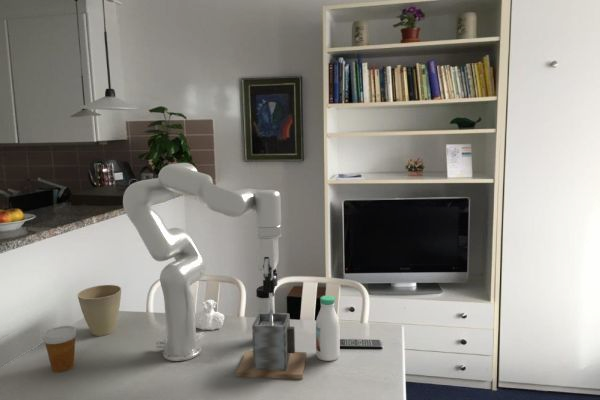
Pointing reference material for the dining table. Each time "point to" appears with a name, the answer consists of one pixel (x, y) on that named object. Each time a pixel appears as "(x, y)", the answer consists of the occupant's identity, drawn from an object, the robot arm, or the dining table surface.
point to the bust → (209, 317)
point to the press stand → (272, 351)
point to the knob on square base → (271, 322)
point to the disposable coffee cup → (60, 347)
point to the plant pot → (100, 308)
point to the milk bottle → (327, 331)
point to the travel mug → (263, 301)
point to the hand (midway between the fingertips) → (270, 288)
